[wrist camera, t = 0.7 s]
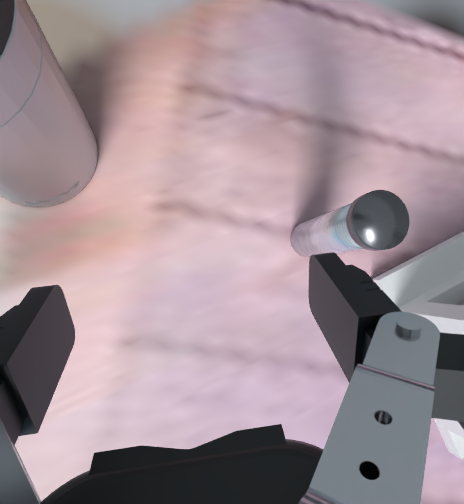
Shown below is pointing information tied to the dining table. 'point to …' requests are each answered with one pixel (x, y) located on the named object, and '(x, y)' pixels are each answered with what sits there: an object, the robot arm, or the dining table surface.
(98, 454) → the robot arm
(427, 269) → the clevis bracket
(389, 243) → the clevis pin
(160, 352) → the dining table surface
